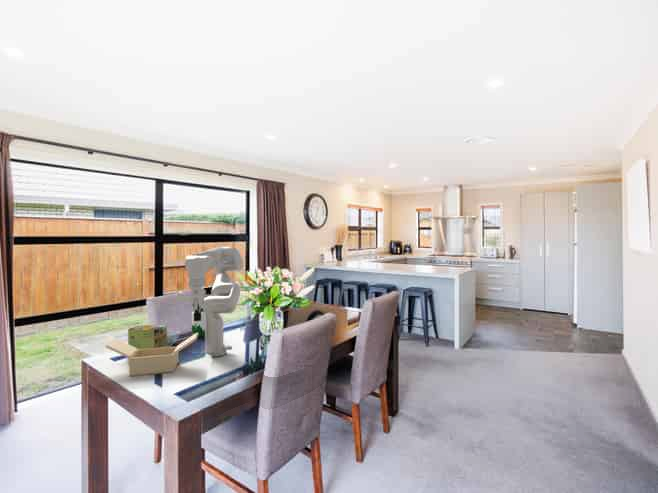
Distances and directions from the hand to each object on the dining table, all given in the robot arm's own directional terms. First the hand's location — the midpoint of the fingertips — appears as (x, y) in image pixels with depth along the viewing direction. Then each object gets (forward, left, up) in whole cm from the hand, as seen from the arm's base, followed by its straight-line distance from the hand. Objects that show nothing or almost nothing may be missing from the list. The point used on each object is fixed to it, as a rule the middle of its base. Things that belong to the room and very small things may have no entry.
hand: (197, 320), depth 167 cm
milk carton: (+5, -58, -24) cm, 63 cm away
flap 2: (+10, +1, -13) cm, 17 cm away
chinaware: (+22, -39, -22) cm, 50 cm away
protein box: (+27, -21, -22) cm, 40 cm away
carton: (+19, +1, -21) cm, 28 cm away
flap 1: (+27, +1, -13) cm, 31 cm away
